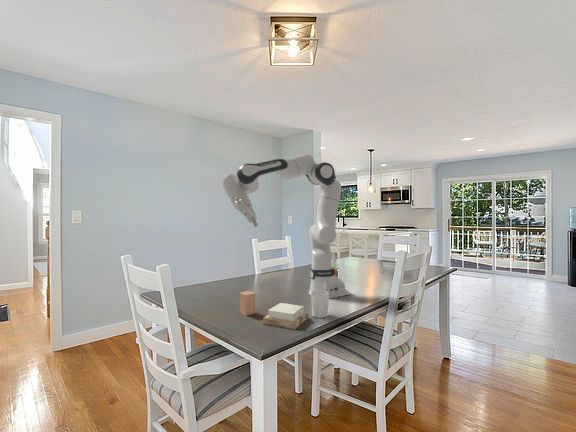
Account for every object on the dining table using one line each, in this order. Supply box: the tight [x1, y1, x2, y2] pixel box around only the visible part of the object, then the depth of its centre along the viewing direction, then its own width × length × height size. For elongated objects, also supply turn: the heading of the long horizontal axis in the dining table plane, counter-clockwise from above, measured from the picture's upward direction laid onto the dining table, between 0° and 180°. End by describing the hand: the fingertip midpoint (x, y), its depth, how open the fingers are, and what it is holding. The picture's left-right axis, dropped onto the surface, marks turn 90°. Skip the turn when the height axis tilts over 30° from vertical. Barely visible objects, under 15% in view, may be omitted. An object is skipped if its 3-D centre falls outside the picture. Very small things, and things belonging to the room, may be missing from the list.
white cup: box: [310, 291, 330, 319], centre depth 131 cm, size 8×8×10 cm
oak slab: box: [262, 311, 309, 331], centre depth 125 cm, size 14×14×3 cm
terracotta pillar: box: [239, 290, 256, 316], centre depth 135 cm, size 5×5×9 cm
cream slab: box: [267, 302, 305, 322], centre depth 125 cm, size 11×11×3 cm
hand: (254, 224), depth 149 cm, fingers open, 8 cm apart
